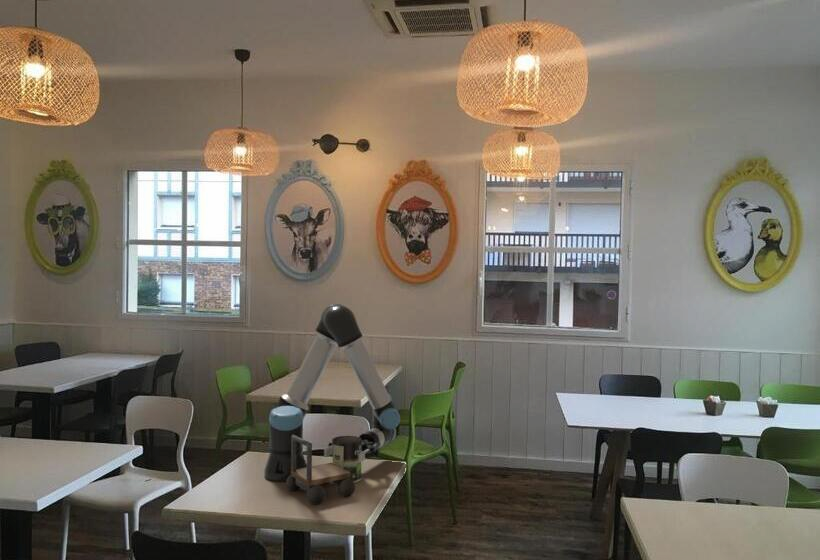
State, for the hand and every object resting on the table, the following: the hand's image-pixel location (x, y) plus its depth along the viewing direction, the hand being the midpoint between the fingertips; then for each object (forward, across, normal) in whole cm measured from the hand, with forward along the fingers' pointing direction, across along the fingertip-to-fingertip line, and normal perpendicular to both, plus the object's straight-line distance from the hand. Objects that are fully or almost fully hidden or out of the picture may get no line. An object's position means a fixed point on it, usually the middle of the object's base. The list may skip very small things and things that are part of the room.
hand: (342, 455), depth 220 cm
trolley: (+13, +1, -9) cm, 16 cm away
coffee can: (-3, 0, -9) cm, 10 cm away
